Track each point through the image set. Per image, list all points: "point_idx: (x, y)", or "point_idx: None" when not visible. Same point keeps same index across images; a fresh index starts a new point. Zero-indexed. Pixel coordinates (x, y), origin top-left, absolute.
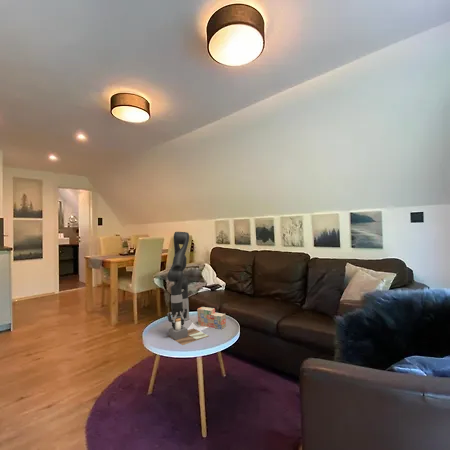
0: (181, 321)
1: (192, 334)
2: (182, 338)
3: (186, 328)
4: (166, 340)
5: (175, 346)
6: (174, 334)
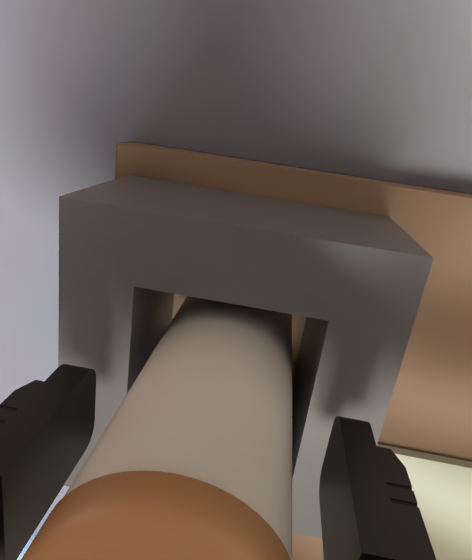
0: (339, 533)
1: (416, 466)
2: None
3: None
4: None
5: None
6: None
